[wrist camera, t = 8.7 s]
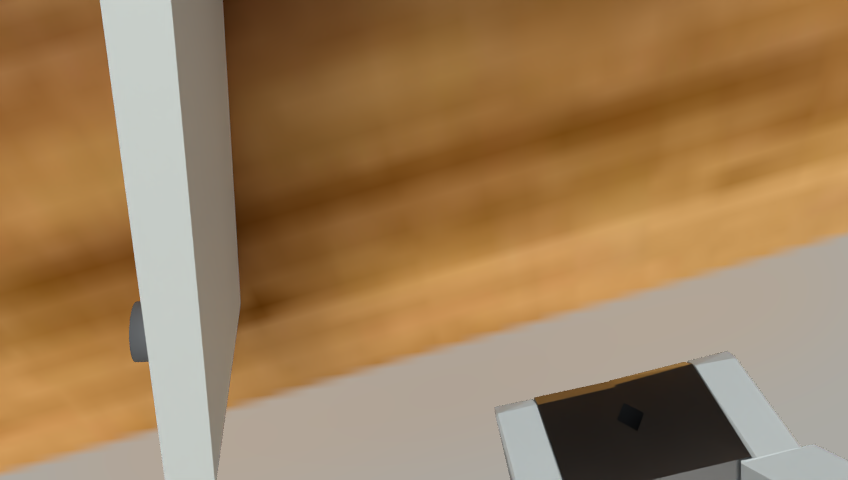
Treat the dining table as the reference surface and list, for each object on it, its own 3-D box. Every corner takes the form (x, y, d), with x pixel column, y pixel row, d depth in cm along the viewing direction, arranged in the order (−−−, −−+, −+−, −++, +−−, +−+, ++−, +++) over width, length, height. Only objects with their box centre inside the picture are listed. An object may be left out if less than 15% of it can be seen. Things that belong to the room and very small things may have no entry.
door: (244, 299, 22) (219, 494, 16) (170, 300, 22) (114, 501, 15) (210, -326, 15) (137, -434, 9) (98, -337, 15) (-63, -458, 8)
